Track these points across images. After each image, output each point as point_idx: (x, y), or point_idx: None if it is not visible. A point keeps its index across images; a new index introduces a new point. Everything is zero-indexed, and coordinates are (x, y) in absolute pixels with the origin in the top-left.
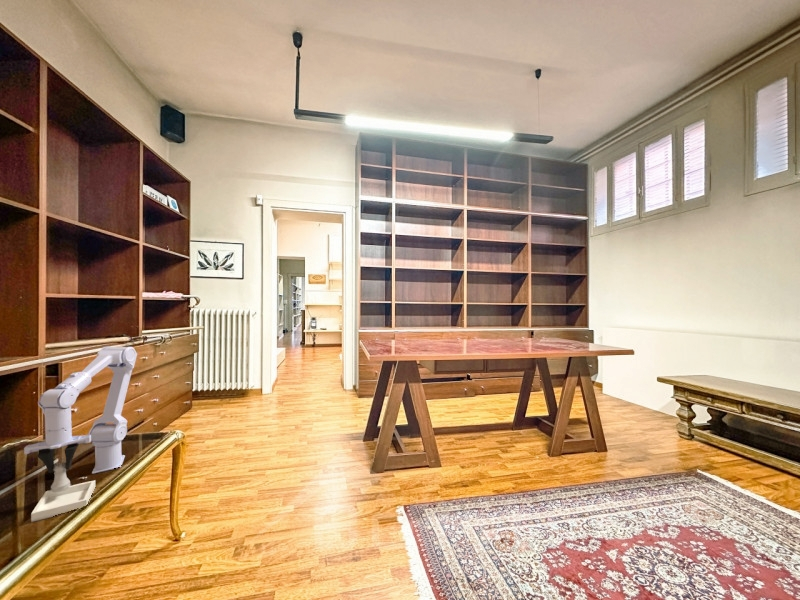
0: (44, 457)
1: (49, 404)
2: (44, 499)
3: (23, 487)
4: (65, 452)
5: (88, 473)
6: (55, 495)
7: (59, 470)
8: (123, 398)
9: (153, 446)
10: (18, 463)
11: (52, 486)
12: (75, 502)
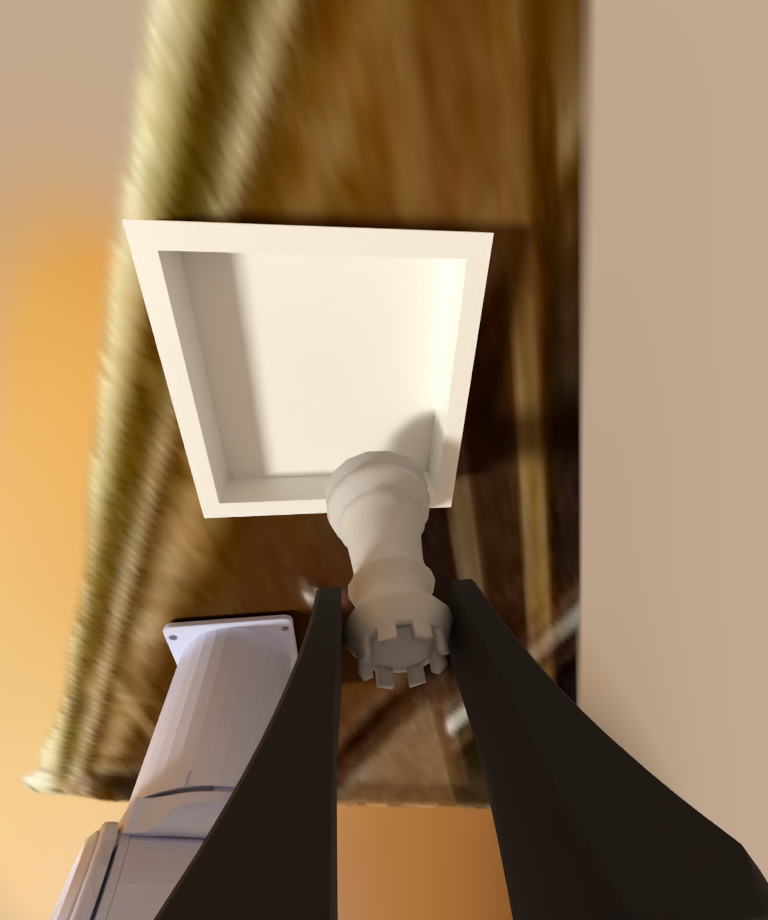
0: (632, 816)
1: None
2: (443, 426)
3: (531, 607)
4: (316, 903)
5: None
6: None
7: (393, 587)
8: None
9: (94, 734)
10: None
11: (420, 490)
12: (206, 224)
